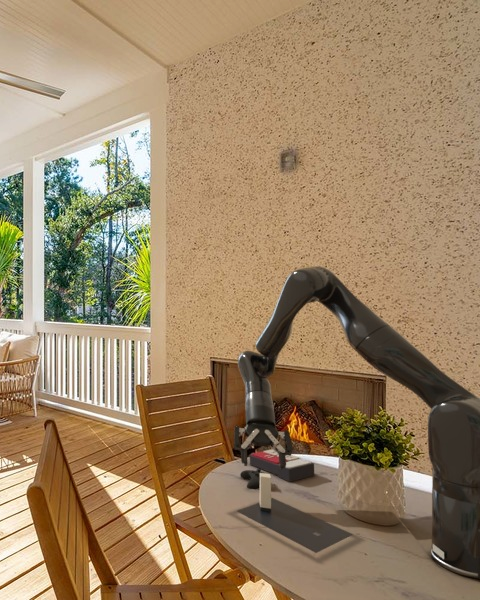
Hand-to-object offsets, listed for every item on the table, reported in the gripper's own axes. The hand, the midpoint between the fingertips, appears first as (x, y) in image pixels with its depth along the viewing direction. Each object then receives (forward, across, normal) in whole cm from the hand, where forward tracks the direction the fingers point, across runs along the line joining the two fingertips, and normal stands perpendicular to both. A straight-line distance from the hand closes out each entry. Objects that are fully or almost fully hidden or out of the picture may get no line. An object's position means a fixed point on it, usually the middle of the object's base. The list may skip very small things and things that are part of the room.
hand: (263, 466), depth 110 cm
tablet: (+13, +5, +1) cm, 14 cm away
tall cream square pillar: (+9, 0, +4) cm, 10 cm away
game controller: (-2, -1, +16) cm, 17 cm away
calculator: (-12, +8, +26) cm, 30 cm away
